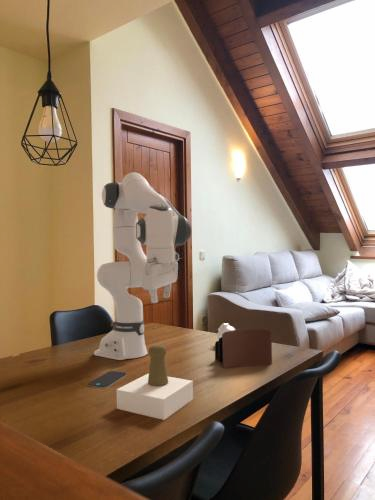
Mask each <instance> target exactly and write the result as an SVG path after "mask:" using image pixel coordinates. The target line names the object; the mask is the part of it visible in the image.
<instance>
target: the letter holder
mask: <svg viewBox="0 0 375 500" xmlns="http://www.w3.org/2000/svg"><path fill="white" fill-rule="evenodd" d="M272 335H273V334H272V331H271V329H269V328H261V327H259V328H258V327H254V328H253V327H251V328H249V327H248V328H240V329H236V330H233V331H228V332H225V333H223V334H222V337H221V338H219V339H218V340H217V341H215V342H214V343H215V344H214V361H215V362H216V363H217V364H218V365H219V366H220V367H221V368H222V369H229V368H237V367H238V368H239V367H247V366H249V367H250V366H259V365H268V364H269V365H271V364H273V357H272V356H273V351H272V350H273V348H272V346H273V344H272V342H273V339H272V338H273V337H272Z"/></svg>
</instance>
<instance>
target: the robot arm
mask: <svg viewBox="0 0 375 500" xmlns="http://www.w3.org/2000/svg"><path fill="white" fill-rule="evenodd" d="M101 200H102V202H103V205H104V207H106V208H109V209H114V212H113V217H112V218H113V220H112V221H113V222H112V223H113V224H112V232H113V233H112V234H113V235H112V237H113V247H114V249H115V251H116V252H118V253H120V254H122V255H124V256H126V257H127V258H128V261H111V262H107V263H103V264H101V265H100V266H99V268H98V270H97V272H96V279H97V282H98V283H99V285H100V286H101V287H102V288H103V289H105V290H106V291H107V292H108V293H109V294H110V296H111V297H112V299H113V301H114V304H115V316H116V319H115V321H113V322H112V323H111V324H110V326H111V327H113V328H112V330H111V331H109V332H108V333H107V334H106V335H105V336H104V337H102V338H101V340H100V343H99V348H98V349H97V350H95V351H94V353H93V355H94V356H96V357H102V358H106V359H112V360H116V361H117V360H118V361H123V360H127V359H128V360H129V359H131V360H132V359H137V358H142V357H144V356H147V355H148V354H149V351H148V349H147V345H146V341H145V340H146V339H145V320H144V312H143V311H144V309H143V308H144V307H143V305H144V304H143V302H142V300H141V299H140V298H139V297H137V296H135V295H133V294H130V293H129V291H128V289H129V288H142V289H143V291H148V293H149V295H150V296H149V297H150V303H151V304H157V303H158V302H159V297H158V295H157V292H158V289H160V288H163V287H164V291H163V298H165V299H168V298H170V296H171V289H172V286H173V285H172V284H173V283H176V282H177V280H178V276H179V275H178V273H179V272H178V271H179V263H178V261H180V255H179V252H177V251H175V246H183V245H185V244H186V243H187V242H188V241H189V239H190V238H191V236H192V226H191V223H190V221H189V220H188V219H187V218H186V217H185V216H184V215H182V214H181V213H180V212H179V211H178V210H177V209H176V208H175V206H174V205H173V204H172V203H171V201H169V199H167V198H166V197H165V196H163V195H161V194H160V193H158V192H157V191H156V190H154V187H153V186H152V185H150V183H149V182H148V181H147V179H146V178H145V177H144V176H143V175H142V174H141V173H138V172H135V171H133V172H128V173H127V174H126V175H124V176H123V178H122V181H121V182H116V181H114V182H113V181H112V182H108V183H106V184H105V185H103V189H102V192H101ZM139 214H145V216H143V217H141V218H140V219H139V217H138V215H139ZM142 245H146V249H145V251H146V254H145V251H144V249H143V248H142Z"/></svg>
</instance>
